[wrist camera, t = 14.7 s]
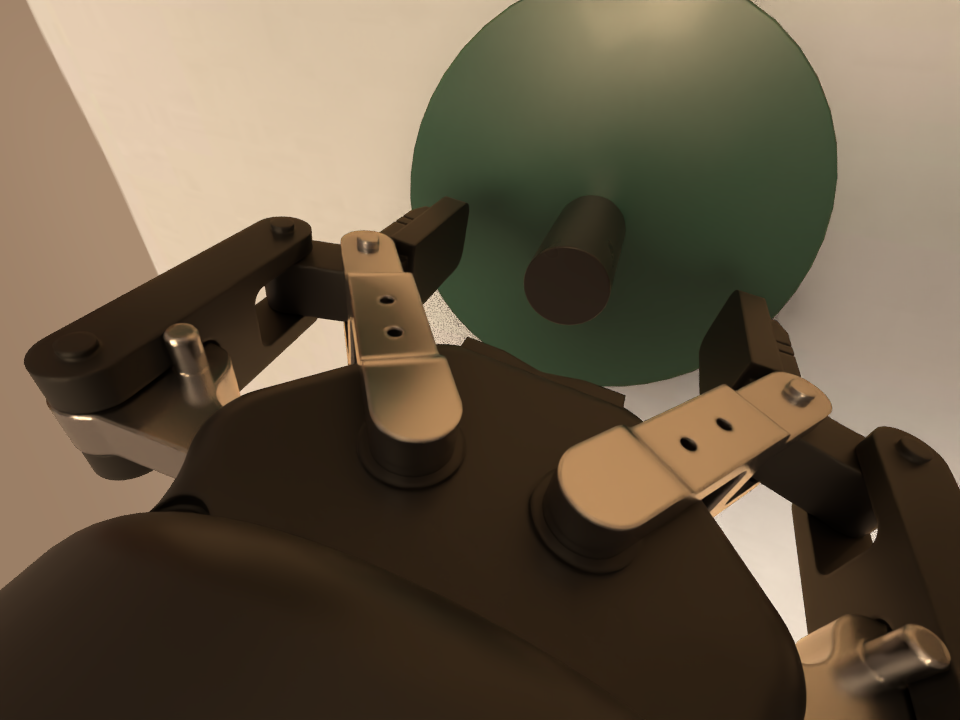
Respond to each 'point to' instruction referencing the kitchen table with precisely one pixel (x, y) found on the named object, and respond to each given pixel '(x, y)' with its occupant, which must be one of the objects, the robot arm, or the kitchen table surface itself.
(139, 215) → the kitchen table surface
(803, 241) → the lid
